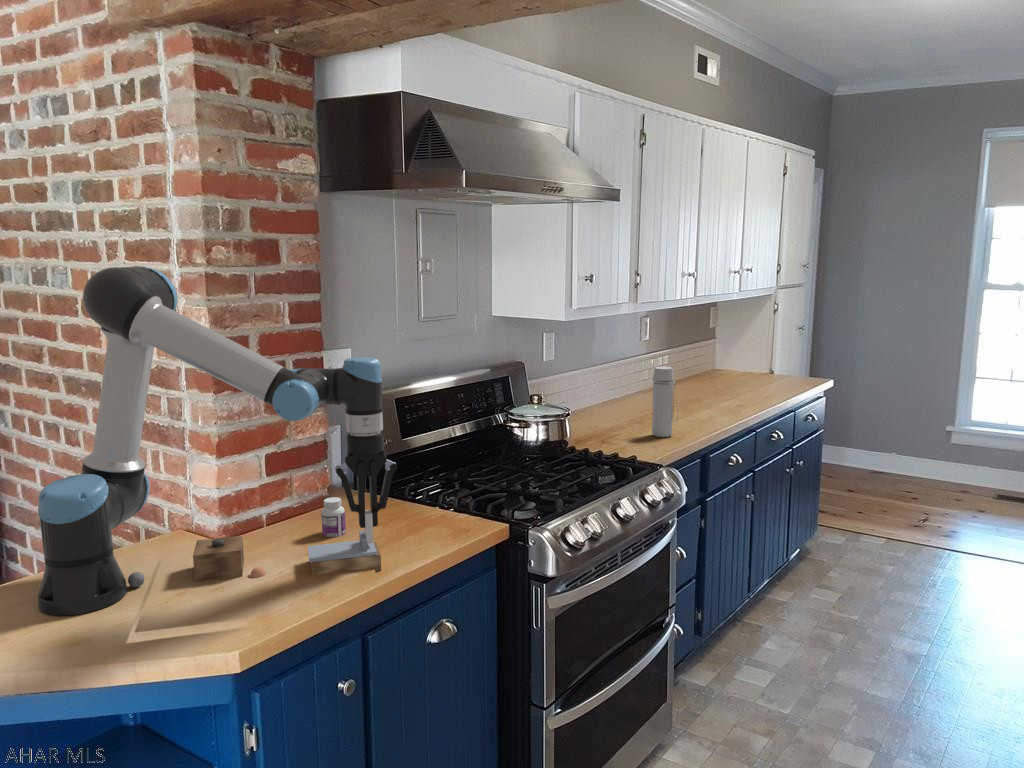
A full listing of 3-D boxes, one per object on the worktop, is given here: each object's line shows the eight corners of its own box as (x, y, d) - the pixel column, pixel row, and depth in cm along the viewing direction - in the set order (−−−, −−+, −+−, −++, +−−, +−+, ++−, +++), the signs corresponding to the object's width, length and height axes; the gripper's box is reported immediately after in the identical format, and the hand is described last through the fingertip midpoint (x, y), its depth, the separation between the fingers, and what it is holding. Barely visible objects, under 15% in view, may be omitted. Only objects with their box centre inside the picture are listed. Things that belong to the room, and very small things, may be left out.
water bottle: (651, 437, 286) (653, 369, 282) (651, 433, 293) (652, 366, 289) (677, 438, 284) (679, 369, 280) (677, 433, 292) (678, 366, 288)
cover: (195, 588, 158) (192, 550, 157) (199, 572, 167) (196, 535, 165) (242, 583, 161) (240, 545, 159) (244, 566, 169) (242, 531, 168)
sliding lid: (309, 562, 160) (308, 547, 160) (307, 549, 168) (307, 535, 167) (376, 554, 164) (376, 540, 164) (372, 542, 172) (371, 528, 171)
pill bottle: (336, 533, 189) (334, 494, 188) (350, 538, 186) (349, 498, 184) (317, 540, 185) (315, 500, 184) (332, 544, 182) (330, 504, 180)
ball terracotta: (250, 585, 160) (249, 571, 159) (251, 579, 162) (250, 565, 162) (266, 583, 160) (265, 569, 160) (266, 577, 163) (265, 563, 163)
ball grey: (123, 580, 157) (136, 571, 158) (126, 576, 160) (139, 567, 161) (132, 592, 158) (146, 582, 158) (135, 587, 161) (148, 578, 161)
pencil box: (312, 581, 161) (311, 562, 160) (310, 567, 169) (309, 549, 168) (381, 573, 165) (380, 555, 164) (376, 559, 172) (376, 542, 172)
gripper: (334, 438, 158) (339, 551, 162) (399, 434, 162) (402, 544, 166) (331, 430, 165) (336, 538, 169) (393, 426, 169) (397, 532, 173)
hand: (369, 541), depth 167 cm, fingers closed
